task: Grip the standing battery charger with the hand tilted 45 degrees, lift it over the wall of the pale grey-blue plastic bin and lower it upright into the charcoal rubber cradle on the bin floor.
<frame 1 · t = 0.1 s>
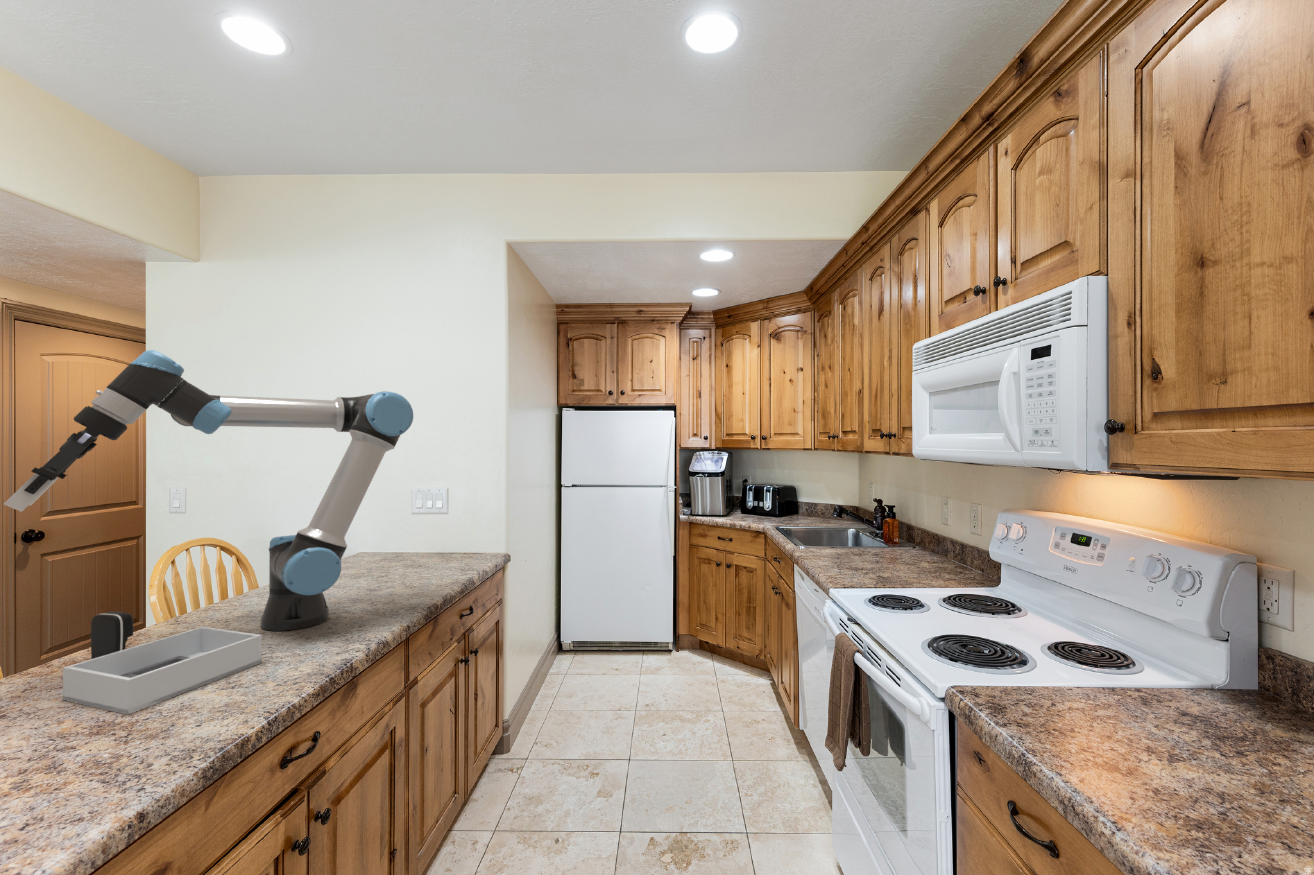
hand: (17, 505, 106), 36 cm above the countertop, tool tilted 35°, fingers open, 13 cm apart
battery charger: (113, 667, 119), on the countertop
bin: (169, 680, 112), on the countertop
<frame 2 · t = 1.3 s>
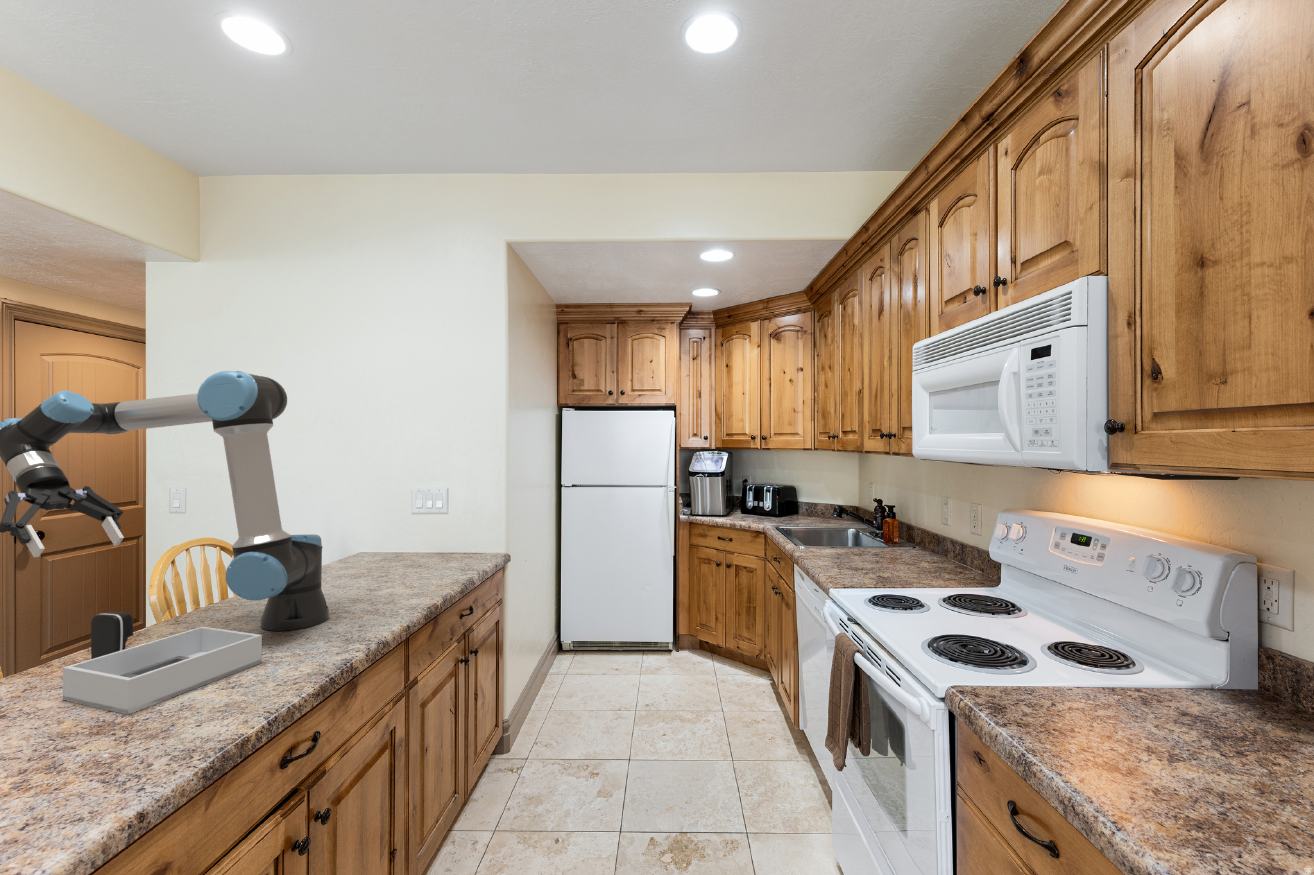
hand: (81, 547, 122), 25 cm above the countertop, tool tilted 45°, fingers open, 13 cm apart
nothing on the countertop moved.
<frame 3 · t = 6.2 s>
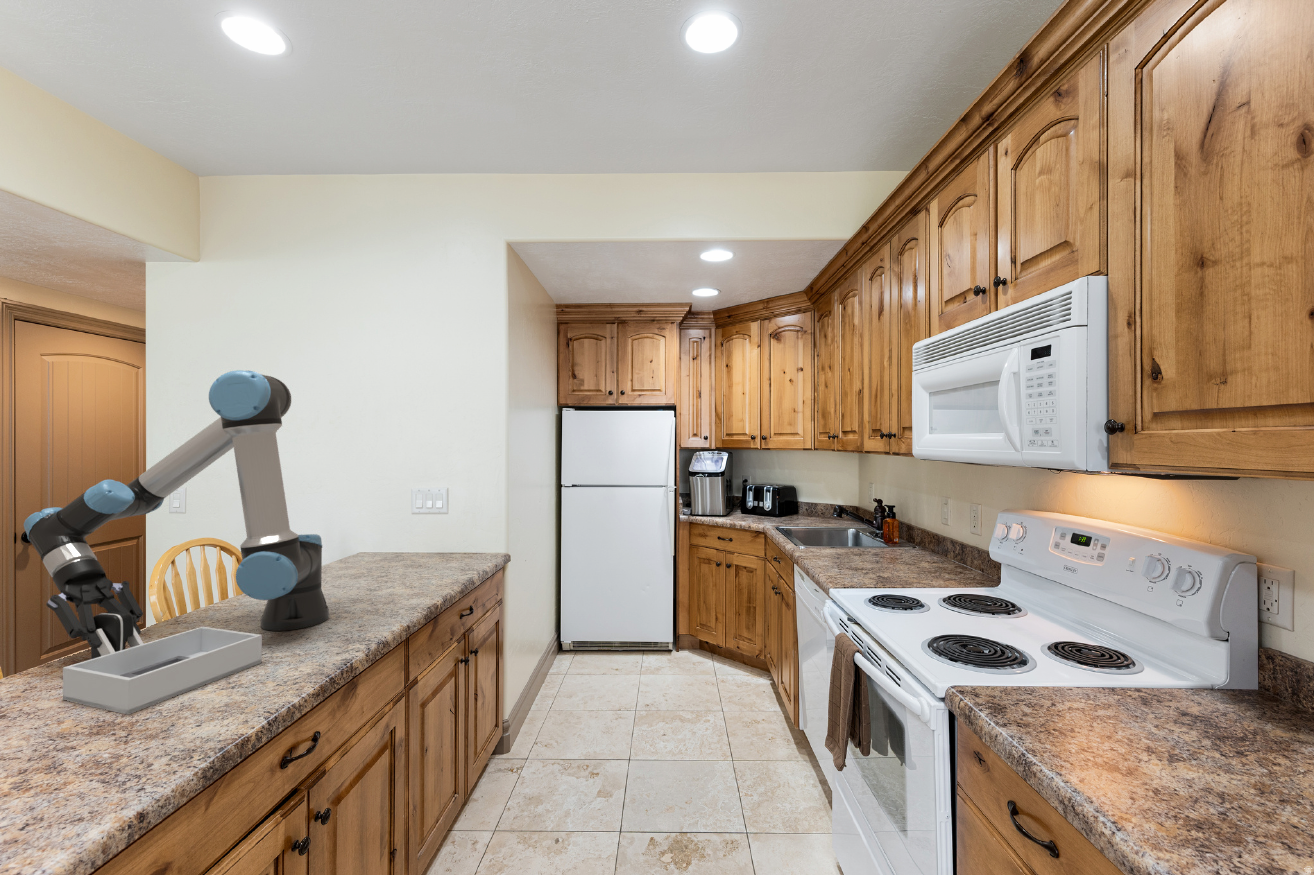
hand: (125, 653, 118), 3 cm above the countertop, tool tilted 45°, fingers closed on battery charger, 4 cm apart
battery charger: (113, 667, 119), on the countertop, touching gripper
when the fingers open (6 cm above the countertop, at t = 11.4 s): battery charger drops 2 cm, resting on bin.
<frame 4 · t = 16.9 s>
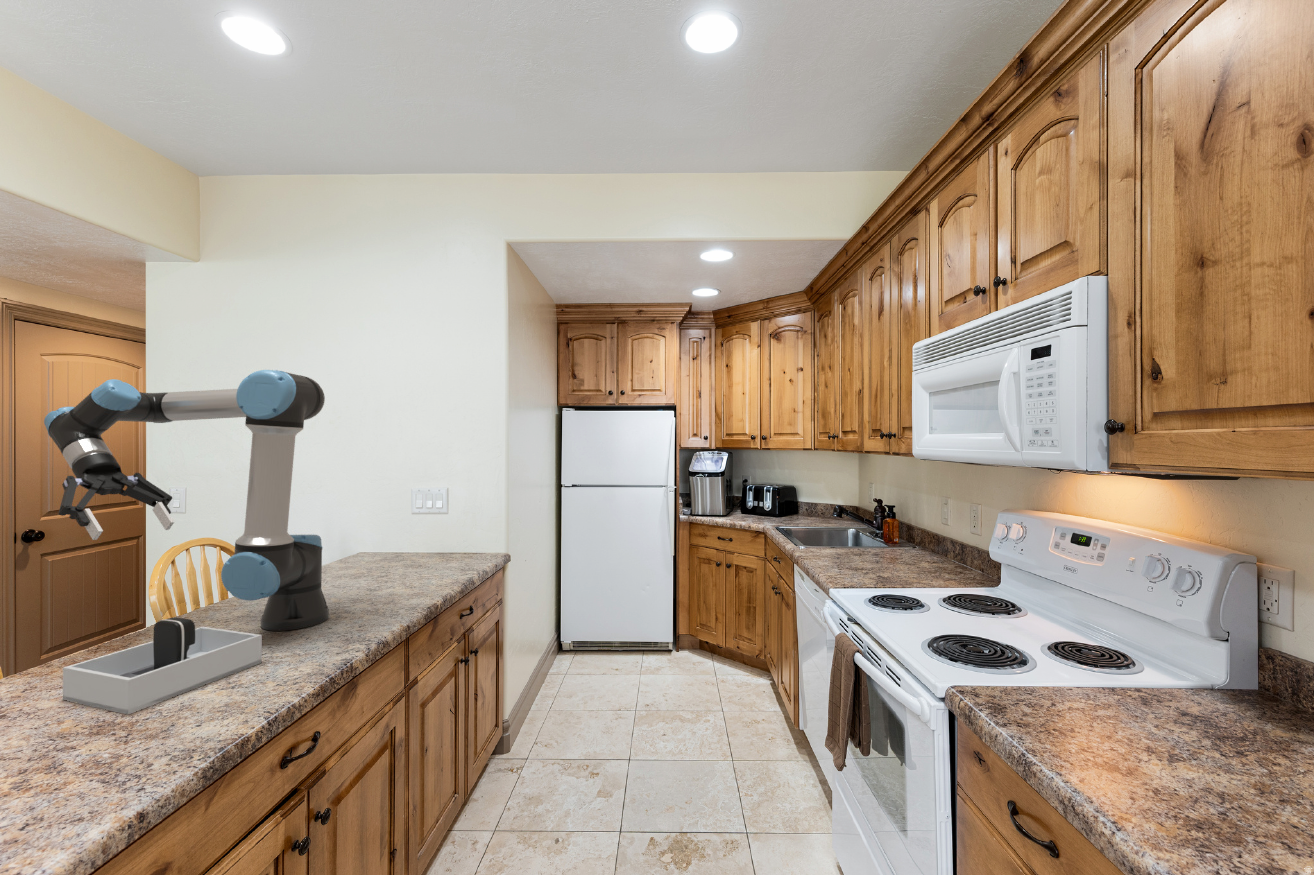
hand: (136, 530, 126), 28 cm above the countertop, tool tilted 45°, fingers open, 13 cm apart
battery charger: (175, 676, 112), point 1 cm above the countertop, touching bin
at the end: battery charger inside the target area on the bin (0.4 cm from its centre), point 0.6 cm above the bin's base; battery charger tilted 0°; the gripper is holding nothing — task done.
